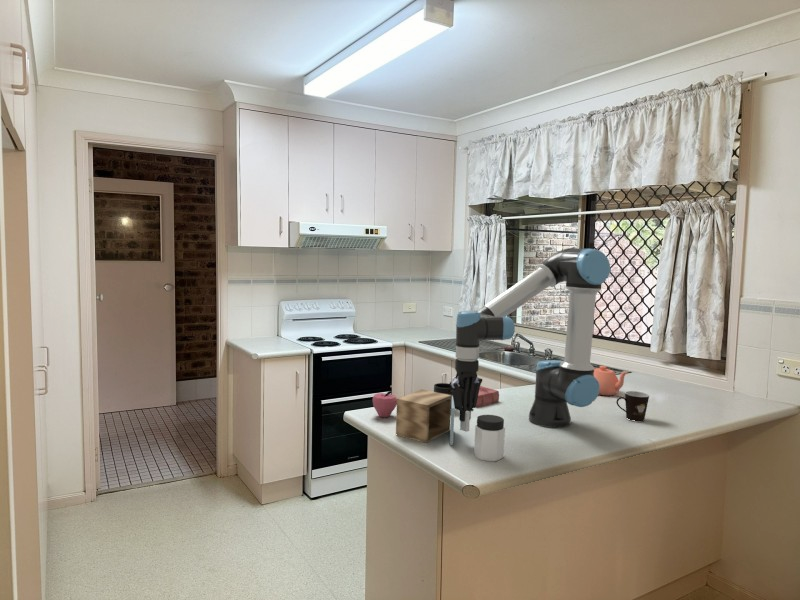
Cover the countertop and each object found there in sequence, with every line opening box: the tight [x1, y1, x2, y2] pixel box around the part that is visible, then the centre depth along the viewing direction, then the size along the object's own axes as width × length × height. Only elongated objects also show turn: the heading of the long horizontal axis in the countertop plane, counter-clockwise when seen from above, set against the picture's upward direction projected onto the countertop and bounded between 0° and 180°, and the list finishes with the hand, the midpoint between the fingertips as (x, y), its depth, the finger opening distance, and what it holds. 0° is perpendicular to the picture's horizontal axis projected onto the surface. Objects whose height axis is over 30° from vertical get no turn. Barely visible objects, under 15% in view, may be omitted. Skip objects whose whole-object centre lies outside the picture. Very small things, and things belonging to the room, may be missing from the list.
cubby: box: [395, 389, 451, 444], centre depth 192 cm, size 12×16×12 cm
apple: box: [372, 390, 398, 418], centre depth 208 cm, size 10×9×10 cm
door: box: [449, 395, 456, 446], centre depth 187 cm, size 1×16×12 cm, turn 174°
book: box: [472, 385, 500, 409], centre depth 234 cm, size 14×15×5 cm
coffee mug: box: [616, 390, 650, 422], centre depth 216 cm, size 12×9×10 cm
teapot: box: [594, 365, 629, 396], centre depth 254 cm, size 22×15×12 cm
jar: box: [473, 414, 506, 462], centre depth 172 cm, size 9×8×12 cm
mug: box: [433, 382, 453, 403], centre depth 219 cm, size 8×12×10 cm
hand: (464, 430), depth 183 cm, fingers closed
